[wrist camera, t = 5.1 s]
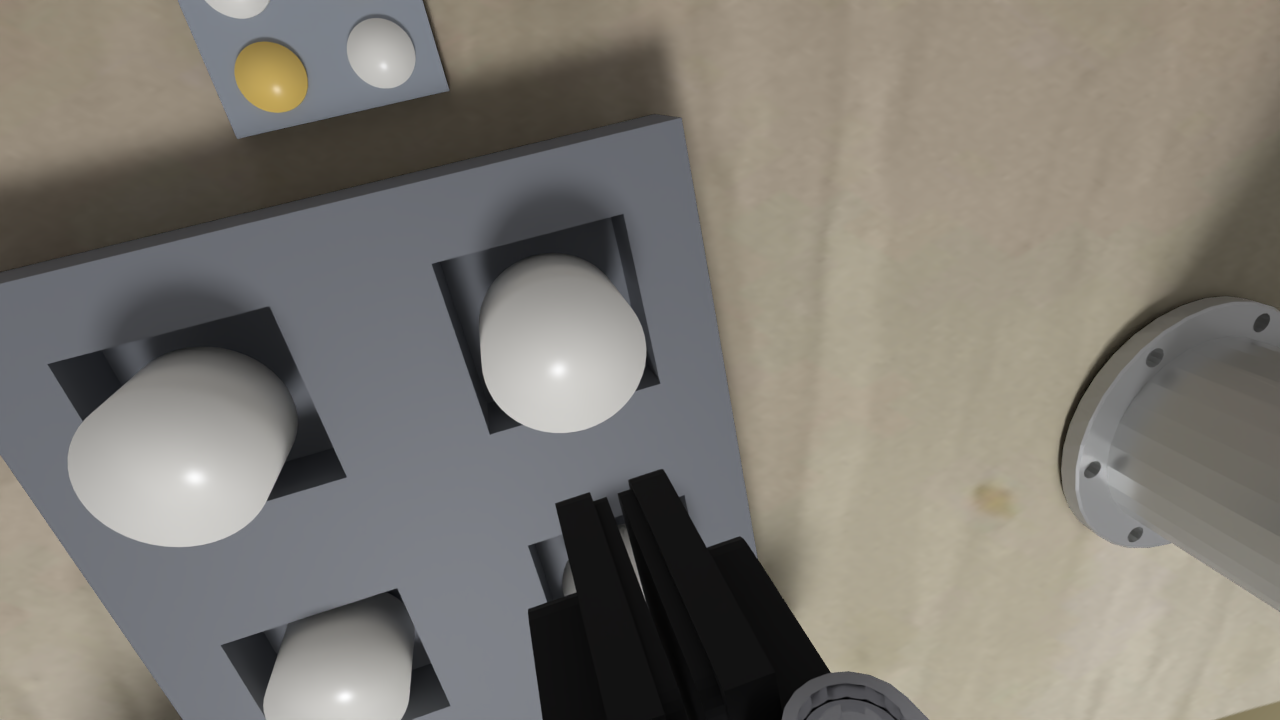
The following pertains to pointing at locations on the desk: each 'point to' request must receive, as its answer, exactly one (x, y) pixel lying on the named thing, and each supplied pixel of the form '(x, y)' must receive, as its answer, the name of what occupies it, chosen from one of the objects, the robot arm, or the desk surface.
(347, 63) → the pattern card
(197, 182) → the desk surface
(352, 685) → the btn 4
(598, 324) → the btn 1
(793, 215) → the desk surface
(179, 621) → the board
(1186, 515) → the robot arm
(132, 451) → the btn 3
